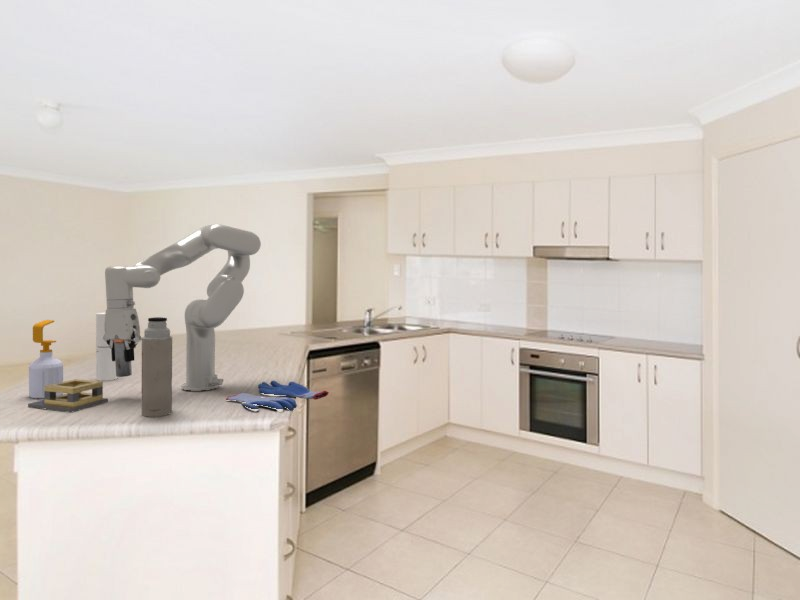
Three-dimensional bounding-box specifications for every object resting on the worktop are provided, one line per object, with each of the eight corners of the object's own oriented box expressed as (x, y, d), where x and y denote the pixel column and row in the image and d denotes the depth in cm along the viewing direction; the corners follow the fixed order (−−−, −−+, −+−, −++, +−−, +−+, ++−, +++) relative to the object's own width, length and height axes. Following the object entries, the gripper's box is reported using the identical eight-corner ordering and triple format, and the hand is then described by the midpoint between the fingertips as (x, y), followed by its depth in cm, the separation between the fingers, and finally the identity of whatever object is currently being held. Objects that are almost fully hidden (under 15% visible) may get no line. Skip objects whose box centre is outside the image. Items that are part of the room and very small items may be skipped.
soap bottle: (69, 393, 165) (69, 320, 163) (42, 400, 156) (41, 322, 155) (50, 391, 168) (50, 318, 166) (22, 397, 159) (21, 320, 158)
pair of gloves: (276, 418, 145) (276, 405, 145) (211, 406, 156) (211, 394, 156) (335, 395, 174) (335, 385, 174) (277, 387, 185) (277, 377, 185)
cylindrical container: (107, 381, 184) (107, 314, 183) (91, 380, 186) (91, 313, 185) (122, 377, 191) (122, 313, 190) (106, 376, 193) (106, 312, 192)
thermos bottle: (136, 416, 141) (136, 318, 139) (148, 409, 149) (148, 316, 147) (165, 417, 141) (166, 319, 140) (176, 409, 149) (176, 316, 148)
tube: (135, 374, 163) (133, 331, 162) (124, 377, 158) (121, 333, 157) (123, 373, 164) (121, 331, 163) (112, 376, 159) (109, 333, 158)
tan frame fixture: (107, 401, 156) (107, 381, 156) (71, 412, 144) (70, 389, 143) (67, 397, 160) (67, 377, 160) (28, 407, 148) (27, 385, 147)
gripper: (151, 304, 161) (153, 359, 162) (108, 303, 165) (111, 357, 167) (133, 306, 154) (136, 364, 155) (89, 305, 158) (92, 362, 159)
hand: (123, 360), depth 161 cm, fingers closed on tube, 4 cm apart
